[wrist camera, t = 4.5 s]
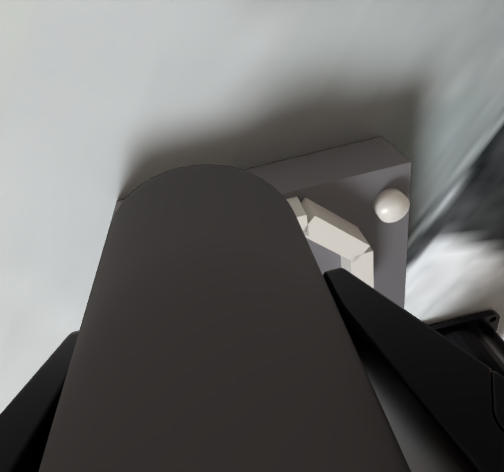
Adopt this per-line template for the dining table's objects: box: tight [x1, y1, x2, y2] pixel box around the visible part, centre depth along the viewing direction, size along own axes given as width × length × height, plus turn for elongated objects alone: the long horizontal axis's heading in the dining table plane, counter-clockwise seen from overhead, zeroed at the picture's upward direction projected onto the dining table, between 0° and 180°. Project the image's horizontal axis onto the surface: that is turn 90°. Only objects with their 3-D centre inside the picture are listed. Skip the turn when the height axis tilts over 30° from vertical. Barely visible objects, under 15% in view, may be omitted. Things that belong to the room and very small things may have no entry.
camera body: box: [111, 136, 412, 309], centre depth 20 cm, size 13×9×4 cm
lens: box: [39, 165, 411, 472], centre depth 7 cm, size 5×5×8 cm
